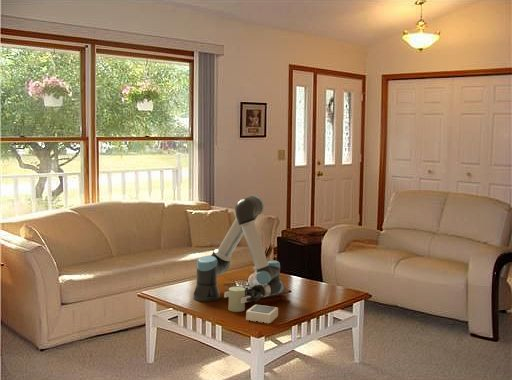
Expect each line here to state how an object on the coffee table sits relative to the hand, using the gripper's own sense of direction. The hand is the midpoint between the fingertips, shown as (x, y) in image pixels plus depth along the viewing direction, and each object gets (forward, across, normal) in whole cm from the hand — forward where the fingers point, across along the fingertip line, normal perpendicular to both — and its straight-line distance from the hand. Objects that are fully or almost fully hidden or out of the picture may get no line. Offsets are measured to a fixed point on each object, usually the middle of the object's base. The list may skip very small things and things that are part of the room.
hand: (232, 297), depth 339 cm
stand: (-3, -20, -7) cm, 21 cm away
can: (-3, 0, -7) cm, 8 cm away
